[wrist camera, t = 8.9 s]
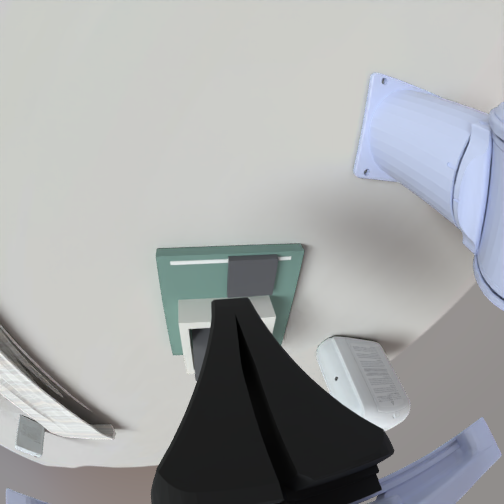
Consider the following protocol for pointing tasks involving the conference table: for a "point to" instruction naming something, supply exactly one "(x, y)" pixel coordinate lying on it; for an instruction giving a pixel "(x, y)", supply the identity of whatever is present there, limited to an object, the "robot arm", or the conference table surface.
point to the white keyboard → (41, 396)
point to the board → (225, 286)
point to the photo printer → (363, 380)
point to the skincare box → (30, 437)
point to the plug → (199, 347)
